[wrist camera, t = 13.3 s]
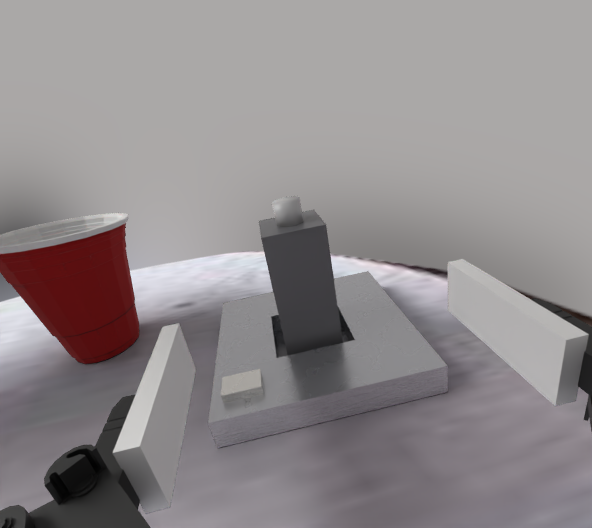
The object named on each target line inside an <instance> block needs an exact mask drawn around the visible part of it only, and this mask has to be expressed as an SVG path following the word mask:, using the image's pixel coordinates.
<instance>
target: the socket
mask: <svg viewBox="0 0 592 528" xmlns="http://www.w3.org/2000/svg"><path fill="white" fill-rule="evenodd" d="M334 284H335V291H336V298H337V305H338V312H339V319H340V326H341V333H342V340H343V343H340V344H335V345H331V346H327V347H322V348H318V349H314V350H309V351H305V352H301V353H296V354H292V355H287V350H286V346H285V341H284V337H283V332H282V328H281V323H280V319H279V314H278V310H277V306H276V301H275V297H274V292H271V293H267V294H262V295H258V296H253V297H249V298H244V299H239V300H235V301H230V302H226V303H223V308H222V315H221V323H220V331H219V339H218V347H217V355H216V363H215V371H214V379H213V387H212V395H211V403H210V411H209V419H208V425H209V427H210V430H211V433H212V435H213V438H214V441H215V443H216V446H217V448H220V447H224V446H228V445H232V444H236V443H241V442H245V441H249V440H253V439H257V438H261V437H265V436H269V435H273V434H277V433H282V432H286V431H290V430H294V429H298V428H302V427H306V426H310V425H314V424H318V423H323V422H327V421H331V420H335V419H339V418H343V417H347V416H351V415H355V414H359V413H364V412H368V411H372V410H376V409H380V408H384V407H388V406H392V405H396V404H400V403H405V402H409V401H413V400H417V399H421V398H425V397H429V396H433V395H437V394H442V393H446V392H448V366H447V364H446V363H445V362H444V361H443V360H442V358H441V357H440V356H439V355H438V354H437V353H436V351H435V350H434V349H433V348H432V347H431V345H430V344H429V343H428V342H427V341H426V339H425V338H424V337H423V336H422V335H421V334H420V332H419V331H418V330H417V329H416V328H415V326H414V325H413V324H412V323H411V322H410V320H409V319H408V318H407V317H406V316H405V315H404V313H403V312H402V311H401V310H400V309H399V307H398V306H397V305H396V304H395V303H394V301H393V300H392V299H391V298H390V297H389V295H388V294H387V293H386V292H385V291H384V290H383V288H382V287H381V286H380V285H379V284H378V282H377V281H376V280H375V279H374V278H373V276H372V275H371V274H370V273H369V272H368V271H367V272H363V273H358V274H354V275H349V276H345V277H340V278H335V279H334Z"/></svg>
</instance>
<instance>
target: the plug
mask: <svg viewBox="0 0 592 528" xmlns="http://www.w3.org/2000/svg"><path fill="white" fill-rule="evenodd" d="M272 205H273V211H274V215H275V218H271V219H266V220H261V221H259V225H260V232H261V239H262V243H263V248H264V252H265V257H266V261H267V265H268V270H269V274H270V279H271V283H272V288H273V292H274V297H275V301H276V306H277V310H278V314H279V319H280V323H281V328H282V332H283V337H284V341H285V346H286V350H287V355H292V354H296V353H301V352H305V351H309V350H314V349H318V348H322V347H327V346H331V345H335V344H340V343H343V340H342V333H341V326H340V319H339V312H338V305H337V298H336V291H335V284H334V277H333V271H332V264H331V257H330V250H329V243H328V236H327V229H326V224H325V223H324V222H323V220H322V219H321V218H320V217H319V215H318V214H317V213H316V212H315V211H314V210H310V211H305V212H302V210H301V204H300V198H299V197H296V196H293V197H285V198H281V199H277V200H275V201H273V202H272Z"/></svg>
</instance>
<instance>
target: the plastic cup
mask: <svg viewBox="0 0 592 528" xmlns="http://www.w3.org/2000/svg"><path fill="white" fill-rule="evenodd" d="M127 220H128V215H127V214H122V213H114V214H113V213H112V214H100V215H92V216H84V217H78V218H72V219H66V220H60V221H55V222H51V223H46V224H41V225H36V226H32V227H28V228H24V229H20V230H15V231H12V232H8V233H4V234H1V235H0V272H1V274H2V275H3V277H4V278H5V279H6V281H7V282H8V283H10V284H11V285H12V286H13V287H14V289H15V290H16V291H17V292H18V293H19V295H20V296H21V297H22V298H23V300H24V301H25V302H26V303H27V305H28V306H29V307H30V308H31V310H32V311H33V312H34V313H35V314H36V316H37V317H38V318H39V319H40V321H41V322H42V323H43V324H44V326H45V327H46V328H47V329H48V330H49V332H50V333H51V334H52V335H53V336H55V337H56V338H57V339H58V340H59V342H60V343H61V344H62V345H63V347H64V348H65V349H66V350H67V351H68V353H69V354H70V355H71V356H72V357H73V358H75V359H76V360H77V361H78V362H80V363H84V364H89V363H97V362H100V361H103V360H106V359H109V358H112V357H114V356H115V355H117V354H119V353H121V352H123V351H125V350H126V349H127V348H128V347H130V346H131V345H132V344H133V343H134V342H135V341H136V339H137V338H138V337H139V321H138V317H137V312H136V308H135V303H134V301H135V297H134V292H133V286H132V281H131V276H130V270H129V265H128V260H127V254H126V249H125V248H126V242H125V236H126V234H125V228H126V227H125V225H126V222H127Z"/></svg>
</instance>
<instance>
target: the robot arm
mask: <svg viewBox="0 0 592 528" xmlns="http://www.w3.org/2000/svg"><path fill="white" fill-rule="evenodd" d="M448 311H449V312H450V313H451V314H452V315H453V316H455V317H456V318H457V319H458V320H459V321H460V322H461V323H462V324H464V325H465V326H466V327H467V328H468V329H469V330H470V331H471V332H472V333H474V334H475V335H476V336H477V337H478V338H479V339H480V340H481V341H483V342H484V343H485V344H486V345H487V346H488V347H489V348H490V349H492V350H493V351H494V352H495V353H496V354H497V355H498V356H499V357H501V358H502V359H503V360H504V361H505V362H506V363H507V364H508V365H509V366H511V367H512V368H513V369H514V370H515V371H516V372H517V373H518V374H520V375H521V376H522V377H523V378H524V379H525V380H526V381H527V382H529V383H530V384H531V385H532V386H533V387H534V388H535V389H536V390H537V391H539V392H540V393H541V394H542V395H543V396H544V397H545V398H546V399H548V400H549V401H550V402H551V403H552V404H553V405H554V406H558V405H562V404H566V403H570V402H574V401H576V398H577V393H578V387H580V388H581V389H582V390H584V391H585V392H586V393H588V394H589V397H588V402H587V406H586V411H585V416H584V420H586V421H588V419H589V418H590V424H591V430H592V327H591V326H589V325H588V324H586V323H584V322H582V321H581V320H579V319H577V318H575V317H572V315H570V314H568V313H567V312H565V311H562V310H561V309H560V308H558V307H556V306H554V305H553V304H551V303H548V302H545V301H542V300H539V299H536V298H534V299H529V298H527V297H525V296H524V295H522V294H520V293H519V292H517V291H515V290H514V289H512V288H510V287H509V286H507V285H505V284H504V283H502V282H500V281H499V280H497V279H495V278H494V277H492V276H490V275H489V274H487V273H485V272H484V271H482V270H480V269H478V268H477V267H475V266H474V265H472V264H470V263H468V262H467V261H465V260H464V259H460V260H456V261H452V262H448ZM195 373H196V368H195V365H194V363H193V360H192V357H191V354H190V352H189V349H188V346H187V343H186V341H185V338H184V335H183V332H182V330H181V327H180V324H179V323H177V324H173V325H168V326H164V327H162V329H161V332H160V334H159V337H158V339H157V342H156V344H155V347H154V350H153V352H152V355H151V357H150V360H149V362H148V365H147V367H146V370H145V372H144V375H143V377H142V380H141V382H140V385H139V387H138V390H137V392H136V394H135V395H131V396H127V397H123V398H122V399H121V400H120V401H119V402H118V403H117V404H116V406H115V407H114V408H113V409H112V411H111V413H110V415H109V418H108V420H107V423H106V424H105V426H104V428H103V433H101V435H100V437H99V439H98V442H97V444H96V446H95V447H94V446H92V445H82V446H79V447H76V448H73V449H72V450H70V451H68V452H66V453H65V454H63V455H62V456H61V457H60V458H59V459H57V460H56V461H55V462H54V464H53V465H52V466H51V467H50V468H49V470H48V471H47V474H46V476H45V478H44V482H45V487H46V488H47V489H48V491H49V492H50V494H51V495H52V497H53V498H54V499H55V500H53V501H51V502H49V503H47V504H45V505H43V506H41V507H39V508H37V509H36V510H34V511H32V512H30V513H28V512H27V511H26V509H25V508H24V507H22V506H19V505H16V506H10V507H7V508H5V509H3V510H1V511H0V528H150V526H149V525H148V524H147V522H146V521H145V519H144V518H143V517H142V515H141V514H140V512H139V511H138V506H139V503H140V504H141V506H142V508H143V509H144V511H145V513H146V514H147V513H151V512H155V511H159V510H162V509H166V508H170V507H171V501H172V496H173V491H174V485H175V480H176V475H177V469H178V464H179V459H180V453H181V448H182V443H183V437H184V432H185V427H186V421H187V416H188V411H189V405H190V400H191V395H192V389H193V384H194V379H195Z"/></svg>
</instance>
